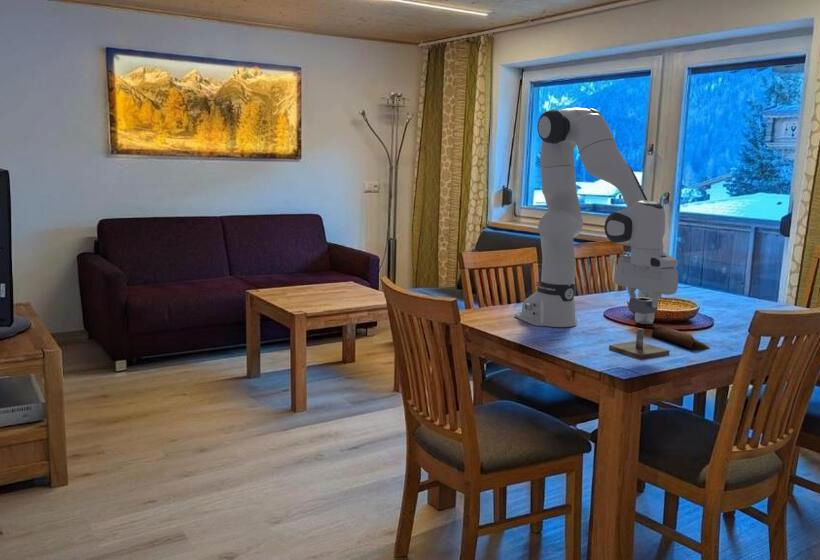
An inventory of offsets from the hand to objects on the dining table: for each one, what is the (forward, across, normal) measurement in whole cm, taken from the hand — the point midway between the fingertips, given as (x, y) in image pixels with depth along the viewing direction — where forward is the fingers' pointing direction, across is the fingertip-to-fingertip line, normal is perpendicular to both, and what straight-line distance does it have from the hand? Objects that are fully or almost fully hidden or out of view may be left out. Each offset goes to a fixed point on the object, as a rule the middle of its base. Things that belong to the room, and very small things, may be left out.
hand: (643, 305), depth 208 cm
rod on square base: (+14, 0, 0) cm, 14 cm away
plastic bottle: (+14, -26, +31) cm, 42 cm away
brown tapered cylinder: (+15, -2, +21) cm, 26 cm away
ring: (+2, 0, 0) cm, 2 cm away
